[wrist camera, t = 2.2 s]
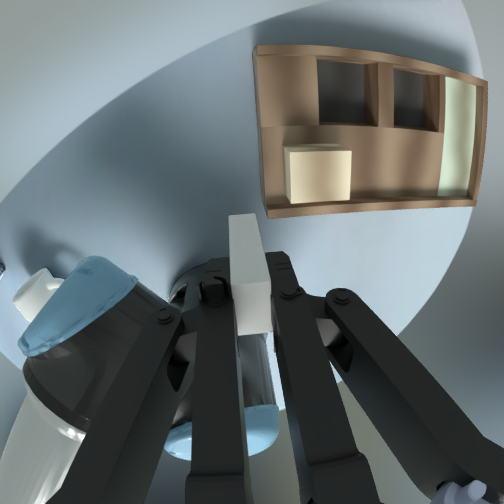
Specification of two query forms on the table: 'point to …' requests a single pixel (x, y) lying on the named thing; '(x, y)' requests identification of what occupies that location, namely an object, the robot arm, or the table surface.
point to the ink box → (1, 271)
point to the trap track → (371, 126)
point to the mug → (36, 293)
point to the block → (316, 172)
